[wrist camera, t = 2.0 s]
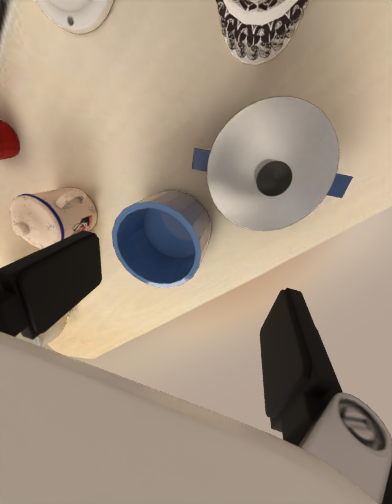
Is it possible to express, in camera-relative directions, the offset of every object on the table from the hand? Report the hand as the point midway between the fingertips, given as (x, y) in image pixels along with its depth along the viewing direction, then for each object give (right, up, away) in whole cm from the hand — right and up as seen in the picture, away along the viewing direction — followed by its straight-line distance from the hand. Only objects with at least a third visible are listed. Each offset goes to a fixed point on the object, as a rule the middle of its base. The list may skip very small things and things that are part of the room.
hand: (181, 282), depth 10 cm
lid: (+9, +11, +13) cm, 19 cm away
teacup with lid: (-21, +11, +28) cm, 37 cm away
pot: (-3, +6, +25) cm, 26 cm away
